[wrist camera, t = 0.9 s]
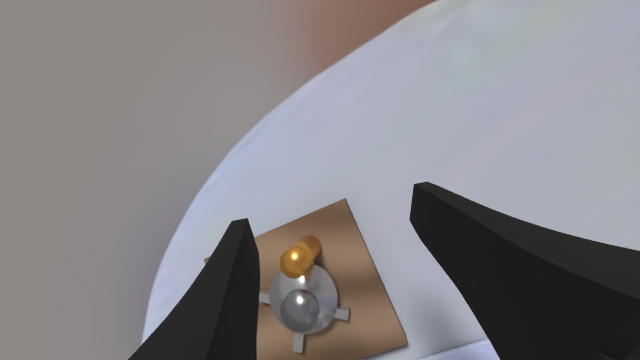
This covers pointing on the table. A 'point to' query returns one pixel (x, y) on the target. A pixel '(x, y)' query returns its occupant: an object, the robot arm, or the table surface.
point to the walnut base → (353, 288)
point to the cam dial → (303, 292)
